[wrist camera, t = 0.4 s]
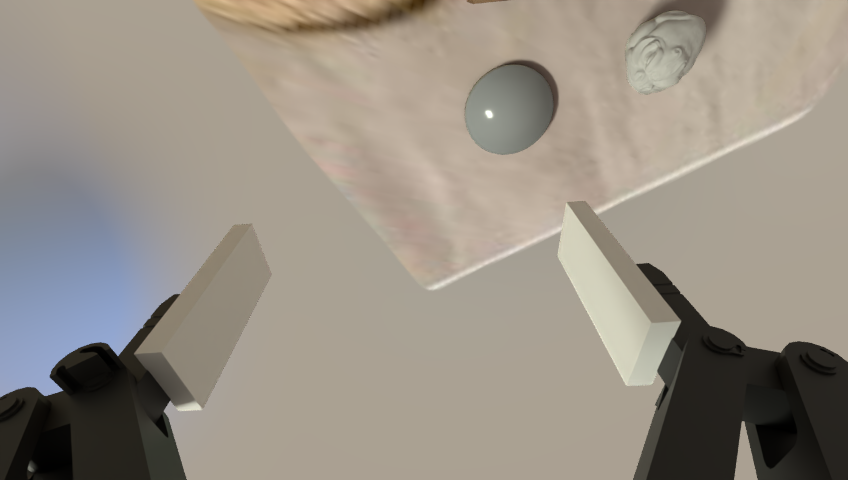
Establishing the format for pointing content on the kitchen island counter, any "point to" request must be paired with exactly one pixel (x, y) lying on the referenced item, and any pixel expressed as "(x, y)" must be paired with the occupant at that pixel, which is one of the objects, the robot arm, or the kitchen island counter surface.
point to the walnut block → (482, 1)
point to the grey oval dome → (508, 109)
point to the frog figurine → (663, 50)
